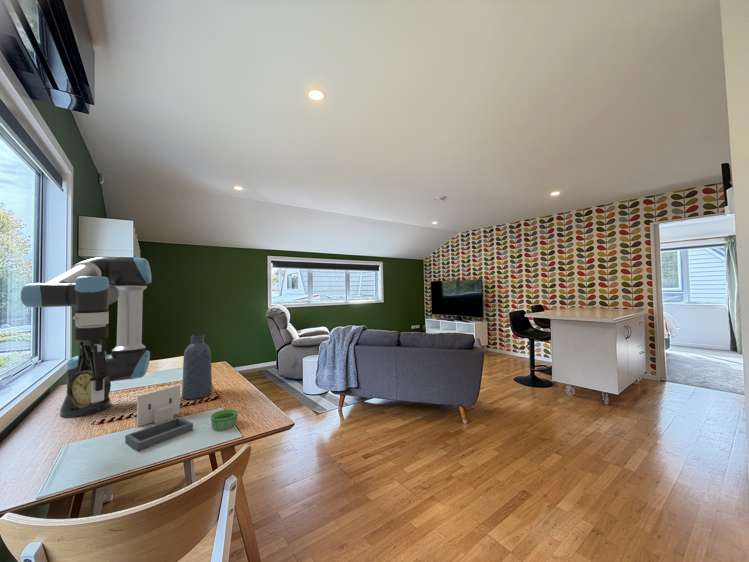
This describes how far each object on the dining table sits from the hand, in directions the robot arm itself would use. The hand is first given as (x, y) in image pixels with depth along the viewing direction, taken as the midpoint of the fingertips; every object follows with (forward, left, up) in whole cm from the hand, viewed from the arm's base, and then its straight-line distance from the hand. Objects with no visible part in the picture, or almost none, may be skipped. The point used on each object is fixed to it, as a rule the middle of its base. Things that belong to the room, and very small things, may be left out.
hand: (91, 397), depth 91 cm
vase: (-23, +43, -17) cm, 52 cm away
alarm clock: (0, 0, -4) cm, 4 cm away
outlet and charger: (-4, +22, -17) cm, 28 cm away
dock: (+7, +16, -17) cm, 24 cm away
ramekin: (+18, +32, -17) cm, 41 cm away
